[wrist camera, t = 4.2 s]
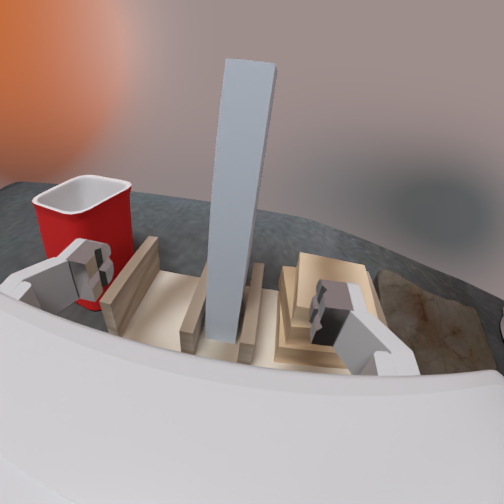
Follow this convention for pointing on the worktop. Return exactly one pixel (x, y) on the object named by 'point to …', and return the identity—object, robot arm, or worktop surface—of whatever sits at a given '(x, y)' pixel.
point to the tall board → (236, 190)
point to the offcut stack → (298, 305)
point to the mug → (87, 220)
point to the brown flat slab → (433, 327)
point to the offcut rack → (195, 313)
